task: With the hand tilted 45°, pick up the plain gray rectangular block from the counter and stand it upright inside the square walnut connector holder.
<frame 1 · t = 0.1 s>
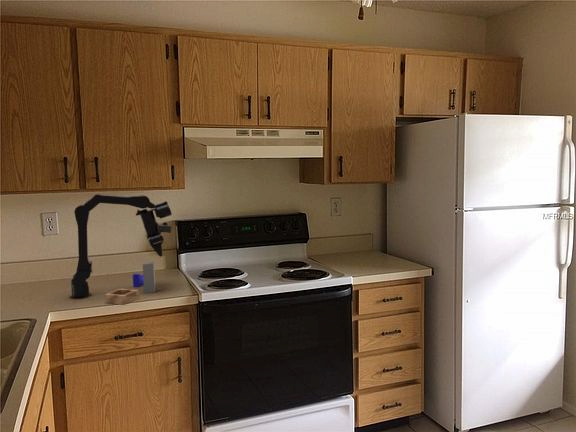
hand: (160, 254, 217), 15 cm above the worktop, tool pointing down, fingers open, 9 cm apart
connector holder: (122, 300, 200), on the worktop
cable clip: (141, 284, 227), on the worktop
plain gray rectangular block: (150, 291, 213), on the worktop
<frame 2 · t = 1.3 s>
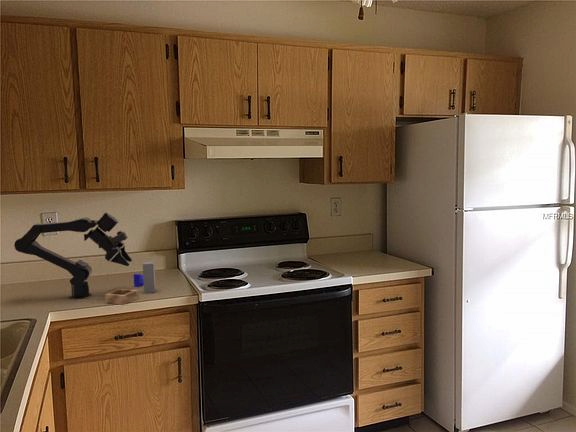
hand: (130, 263, 210), 13 cm above the worktop, tool tilted 45°, fingers open, 9 cm apart
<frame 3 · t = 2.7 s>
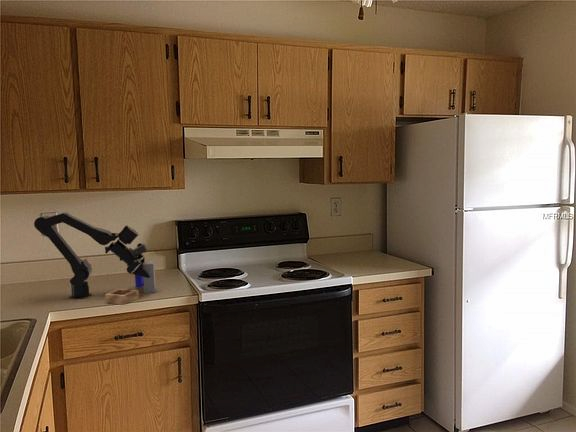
hand: (150, 274, 212), 7 cm above the worktop, tool tilted 45°, fingers open, 9 cm apart
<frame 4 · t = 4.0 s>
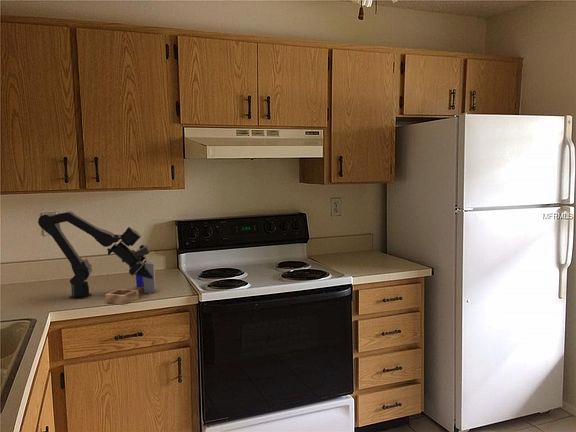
hand: (152, 276, 212), 7 cm above the worktop, tool tilted 45°, fingers closed on plain gray rectangular block, 4 cm apart
plain gray rectangular block: (150, 291, 213), on the worktop, touching gripper
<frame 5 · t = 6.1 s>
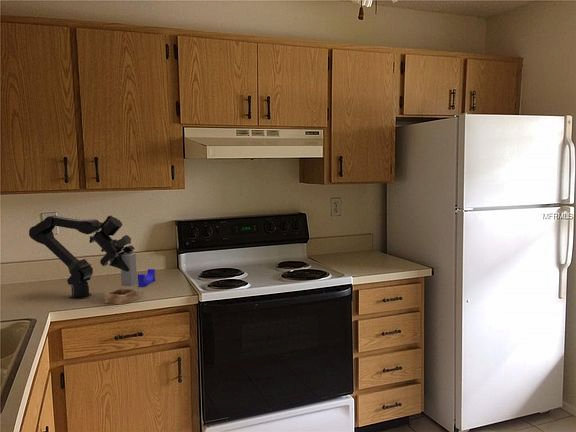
hand: (131, 269, 201), 12 cm above the worktop, tool tilted 45°, fingers closed on plain gray rectangular block, 4 cm apart
plain gray rectangular block: (129, 284, 202), point 6 cm above the worktop, touching gripper
when the fingers open (9 cm above the worktop, at t = 8.0 s): plain gray rectangular block drops 1 cm, resting on connector holder.
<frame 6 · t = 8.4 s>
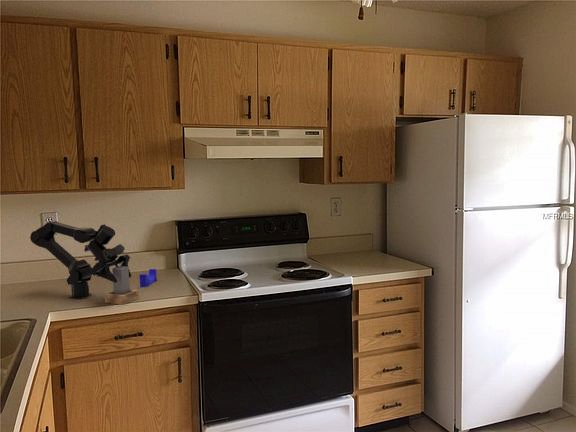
hand: (123, 279, 198), 9 cm above the worktop, tool tilted 45°, fingers open, 9 cm apart
plain gray rectangular block: (122, 298, 200), point 1 cm above the worktop, touching connector holder
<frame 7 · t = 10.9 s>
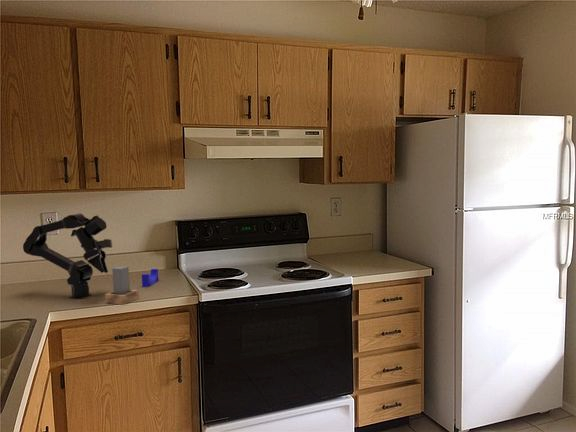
hand: (105, 272, 203), 11 cm above the worktop, tool tilted 30°, fingers open, 9 cm apart
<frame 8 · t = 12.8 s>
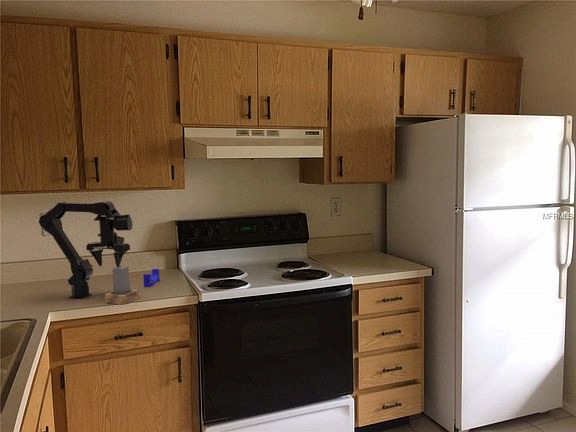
hand: (109, 266, 205), 13 cm above the worktop, tool pointing down, fingers open, 9 cm apart
at the end: plain gray rectangular block 0.0 cm off-centre on the connector holder, point 1.0 cm above the connector holder's base; plain gray rectangular block tilted 0°; the gripper is holding nothing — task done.
